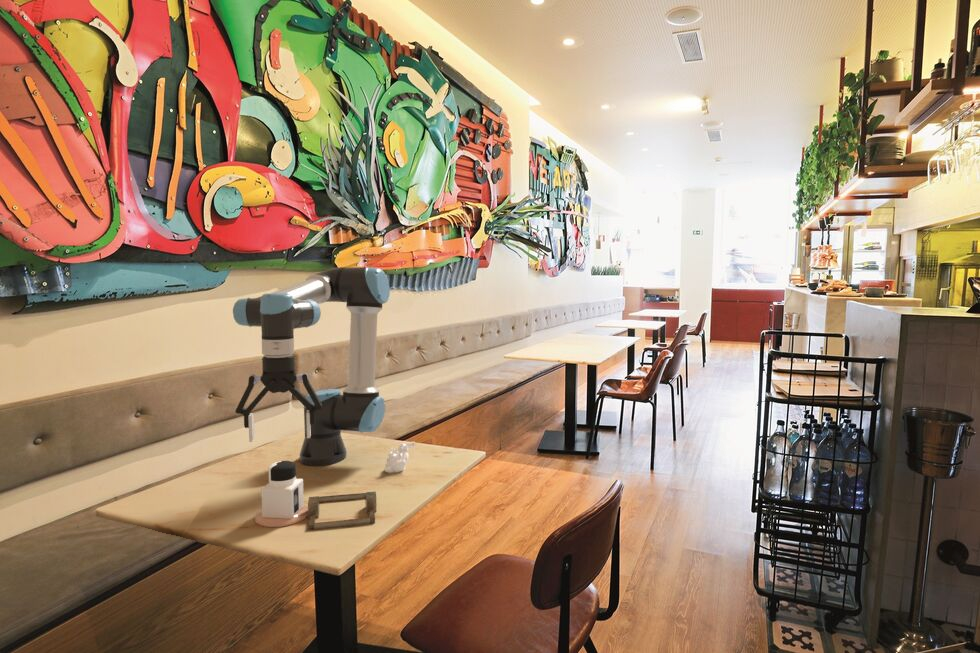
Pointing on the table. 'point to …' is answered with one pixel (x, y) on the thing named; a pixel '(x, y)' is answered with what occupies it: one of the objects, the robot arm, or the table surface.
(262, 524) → the pink flat disc
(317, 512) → the collar
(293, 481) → the container
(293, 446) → the table surface
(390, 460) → the rabbit figurine
